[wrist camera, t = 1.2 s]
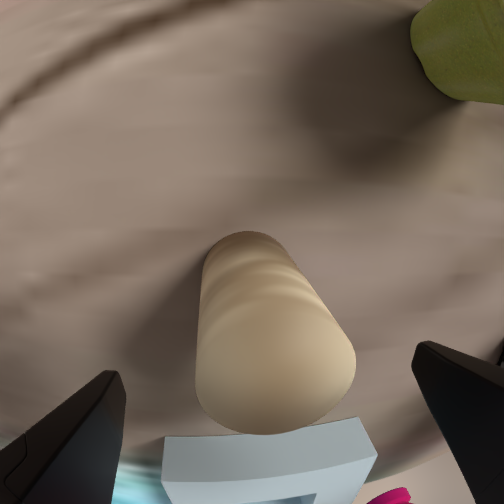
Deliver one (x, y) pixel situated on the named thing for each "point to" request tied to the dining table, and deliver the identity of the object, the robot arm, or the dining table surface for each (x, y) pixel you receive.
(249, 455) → the socket block
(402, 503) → the pepper mill
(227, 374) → the birch peg
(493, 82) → the plant pot
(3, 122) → the dining table surface
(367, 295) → the dining table surface
